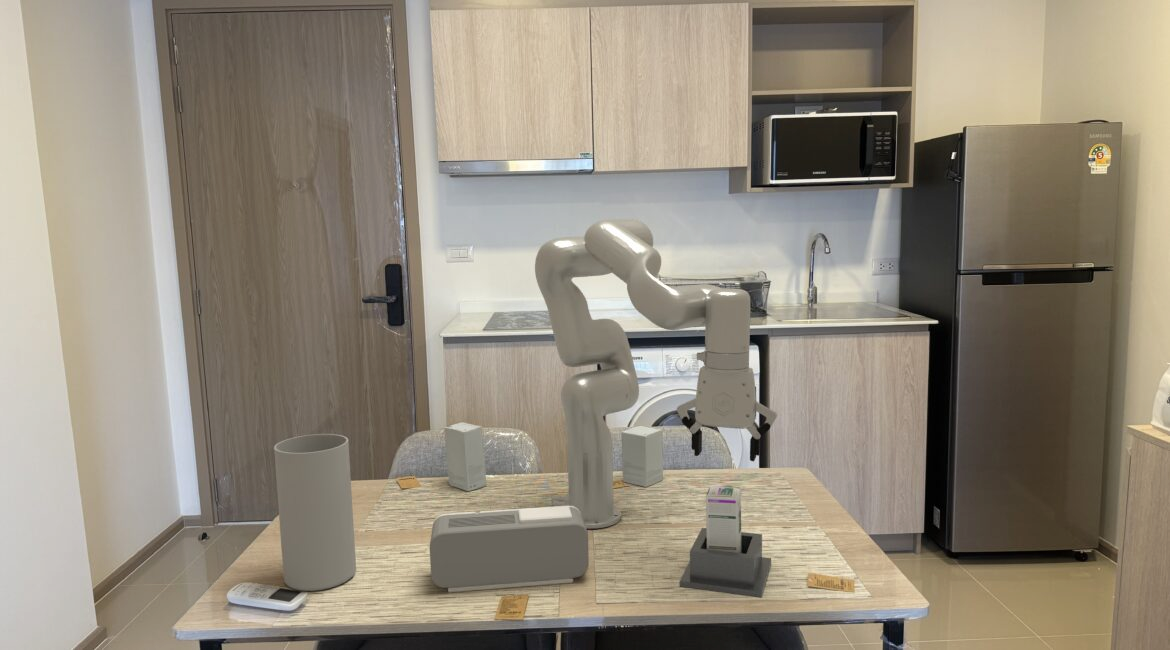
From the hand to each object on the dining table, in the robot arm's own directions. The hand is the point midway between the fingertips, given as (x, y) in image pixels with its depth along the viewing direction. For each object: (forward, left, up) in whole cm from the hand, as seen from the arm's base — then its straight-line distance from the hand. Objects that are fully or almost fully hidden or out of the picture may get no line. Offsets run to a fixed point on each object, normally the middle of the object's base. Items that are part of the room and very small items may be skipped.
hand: (725, 456), depth 142 cm
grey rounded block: (-36, -12, -22) cm, 44 cm away
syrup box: (0, 0, -21) cm, 21 cm away
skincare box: (-68, +31, -22) cm, 78 cm away
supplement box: (-28, +46, -22) cm, 58 cm away
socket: (0, 0, -22) cm, 22 cm away
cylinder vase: (-70, -22, -22) cm, 76 cm away
